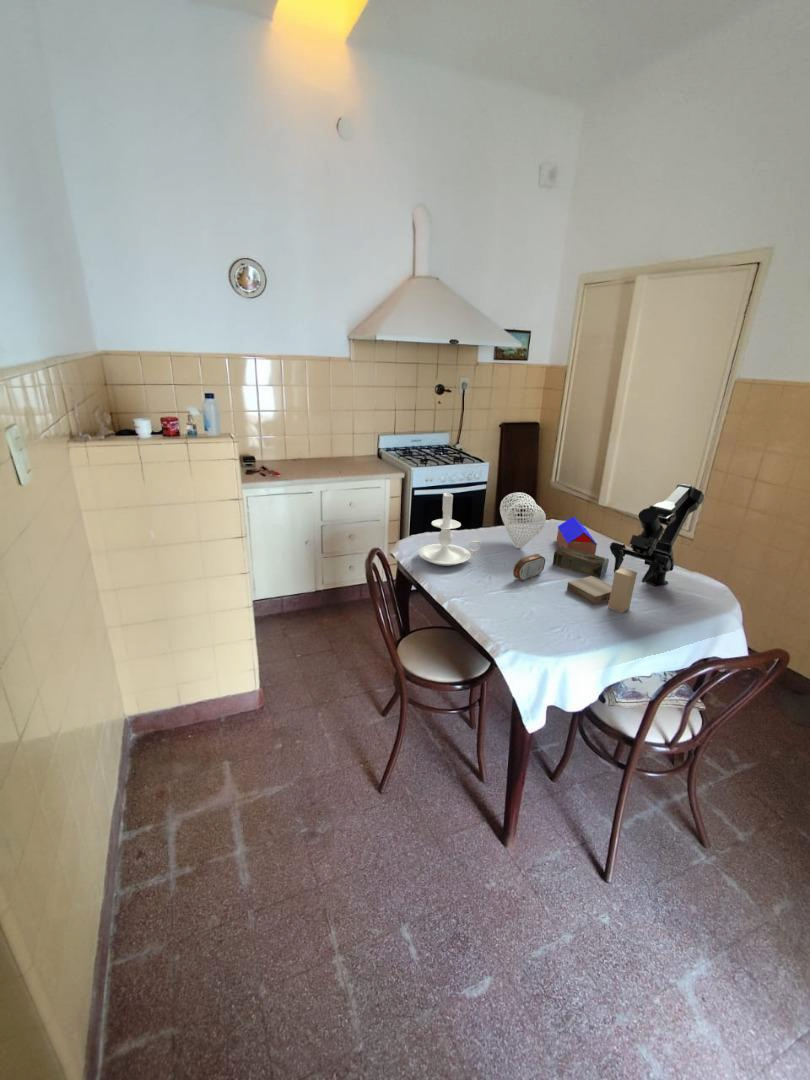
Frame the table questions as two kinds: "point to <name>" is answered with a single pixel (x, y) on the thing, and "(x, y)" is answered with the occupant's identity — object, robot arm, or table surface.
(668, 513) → the robot arm
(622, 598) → the kraft carton
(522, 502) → the heart
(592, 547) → the house
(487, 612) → the table surface
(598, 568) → the beverage carton
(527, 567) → the tin
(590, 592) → the walnut podium
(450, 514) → the candlestick
